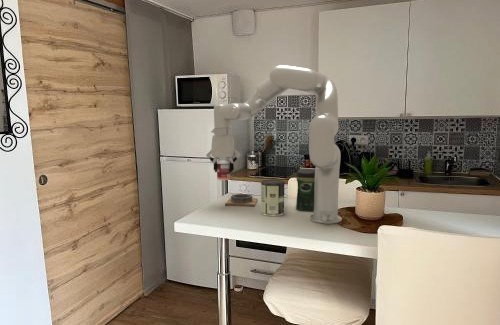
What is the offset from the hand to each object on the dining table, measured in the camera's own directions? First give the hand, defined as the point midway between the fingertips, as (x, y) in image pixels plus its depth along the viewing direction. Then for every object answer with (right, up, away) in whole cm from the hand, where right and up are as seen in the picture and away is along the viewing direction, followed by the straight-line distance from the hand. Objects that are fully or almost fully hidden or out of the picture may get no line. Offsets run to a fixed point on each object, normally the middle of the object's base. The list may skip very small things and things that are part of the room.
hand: (223, 171), depth 166 cm
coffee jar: (+38, -17, +1) cm, 41 cm away
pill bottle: (0, -4, 0) cm, 4 cm away
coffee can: (+22, -18, -6) cm, 29 cm away
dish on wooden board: (+8, -16, +13) cm, 22 cm away
